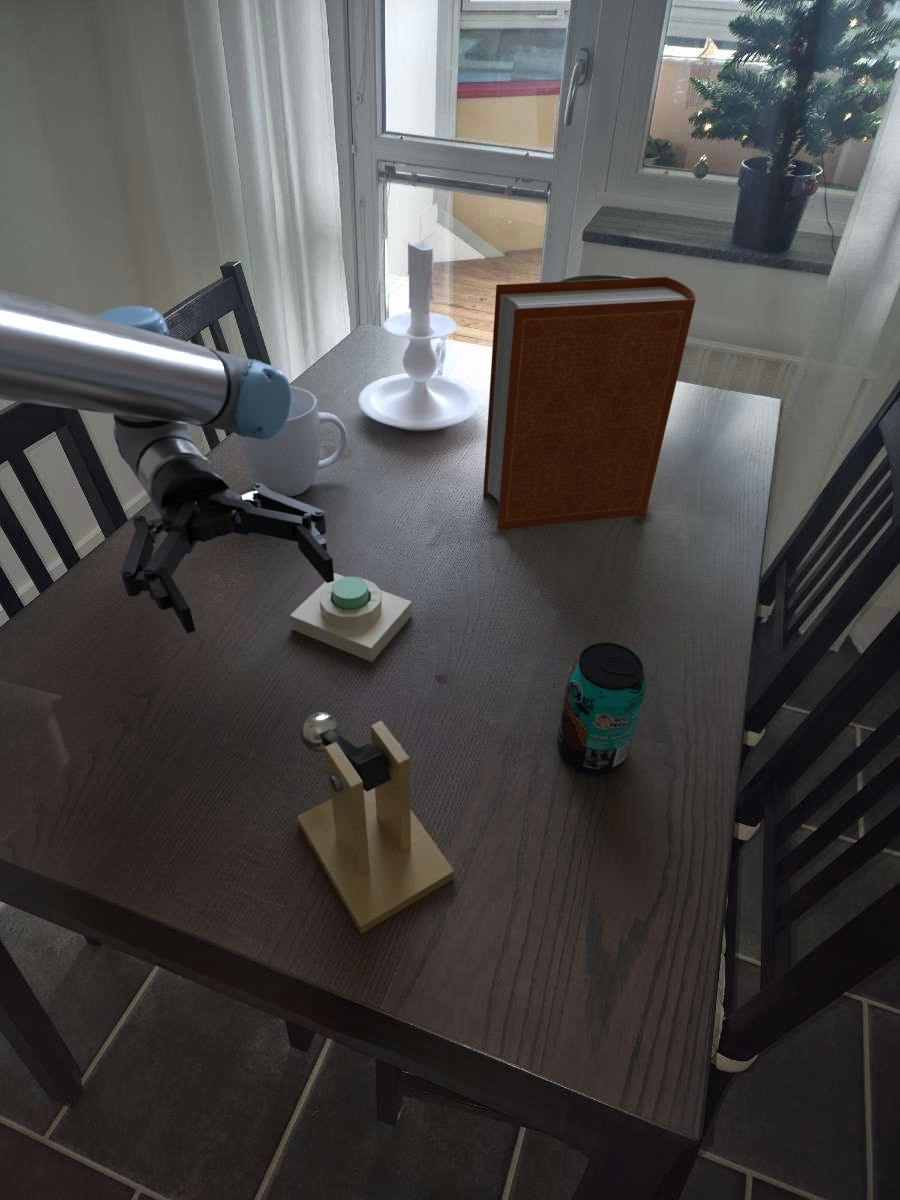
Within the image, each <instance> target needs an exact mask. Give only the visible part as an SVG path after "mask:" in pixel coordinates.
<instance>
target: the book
mask: <svg viewBox="0 0 900 1200" xmlns="http://www.w3.org/2000/svg"><path fill="white" fill-rule="evenodd" d="M696 301H697V298H696V294H695V292H694V291H693V290H692V289H691V287H689V286H688V285H686V284H684V283H682V282H681V281H679V280H676V279H674V278H671V277H668V276H651V277H647V276H646V277H632V278H626V279H605V280H584V281H562V282H559V281H545V282H544V281H543V282H524V283H523V282H522V283H501V284H500V283H499V284H496V285H495V300H494V318H493V331H492V333H493V334H492V349H491V363H490V379H489V383H490V384H489V393H488V394H489V397H488V410H487V411H488V412H487V429H486V443H485V458H484V459H485V460H484V477H483V489H482V491H483V493H482V498H483V499H488V498H489V499H490V498H495V499H496V500H497V502H498V512H497V522H496V523H497V524H496V529H497V530H505V529H506V530H507V529H515V528H517V529H518V528H526V527H536V526H543V525H544V526H545V525H553V524H563V523H572V522H573V523H574V522H581V521H583V522H584V521H591V520H593V521H594V520H601V519H609V518H621V517H630V516H639V515H646V514H647V511H648V507H649V503H650V498H651V494H652V489H653V485H654V481H655V477H656V472H657V467H658V463H659V459H660V454H661V450H662V446H663V443H664V442H663V441H664V438H665V432H666V430H667V426H668V425H667V424H668V420H669V416H670V411H671V407H672V404H673V399H674V394H675V390H676V387H677V386H676V385H677V382H678V377H679V373H680V368H681V365H682V361H683V356H684V353H685V352H684V351H685V347H686V342H687V339H688V336H689V335H688V334H689V331H690V330H689V329H690V326H691V323H692V317H693V313H694V309H695V304H696Z"/></svg>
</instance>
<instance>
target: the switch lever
mask: <svg viewBox="0 0 900 1200" xmlns="http://www.w3.org/2000/svg"><path fill="white" fill-rule="evenodd" d="M299 737H300V739H301V743H302V744H303V745H304V746H305V748H307V749H308V750H309V751H310V752H311V751H312V752H314V753H324V752H325V747H326V746H328V745H330V744H332V743H334V742H337V744H338V745H339V747H340V748H341V750H342V751H343V753H344V754H345V756H346V757H347V759H348V760H349V762H350V763H351V765H352V766H353V768H354V769H355V771H356V772H357V774H358V775H359V776H360V778H361V779H362V781H363V789H364V790H365V791H366V792H368V791H370V790H372V789H374V788H376V787H378V786H380V785H382V784H384V783H386V782H387V781H389V780H391V776H390V772H389V769H388V766H387V763H386V760H385V756H384V753H383V752H382V751H380V750H379V749H377V748H376V747H374V746H373V745H372V743H370V742H368V743H366V744H364V745H362V746H360V747H357V746H356V745H354V744H353V743H351V742H349V741H348V740H347V739H345V738H344V737H343V736H341V726H340V722H339V721H338V719H337V718H336V717H335V716H334V715H332V714H330V713H329V712H327V711H316V712H315V711H314V712H313V713H311V714H309V715H308V716H306V717H305V718H304V720H303V721H302V723H301V725H300V728H299Z"/></svg>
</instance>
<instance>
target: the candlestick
mask: <svg viewBox="0 0 900 1200" xmlns="http://www.w3.org/2000/svg"><path fill="white" fill-rule="evenodd" d="M407 276H408V309H409V310H410V311H407V312H401V313H397V314H394V315H392V316H390V317H388V318H387V319H385V321H384V322H383V328H384V330H385V331H386V332H388V333H389V334H392V335H393V336H396V337H400V338H404V339H409V343H408V346H407V347H406V349H405V351H404V353H403V355H402V366H403V369H404V371H405V373H400V374H393V375H389V376H385V377H382V378H379V379H376V380H375V381H373V382H371V383H369V384H368V385H367V386H365V387H363V389H362V390H361V391H360V393H359V395H358V398H357V402H358V406H359V408H360V410H361V411H362V412H363V413H364V414H365V415H366V416H368V417H369V418H371V419H372V420H374V421H376V422H379V423H381V424H384V425H387V426H389V427H393V428H396V429H401V430H405V431H413V432H428V431H429V432H430V431H437V430H441V429H446V428H449V427H452V426H455V425H458V424H461V423H464V422H466V421H468V420H470V419H472V418H473V417H474V416H475V415H477V413H479V411H480V410H481V408H482V406H483V398H482V396H481V394H480V393H479V391H478V390H477V389H476V388H475V387H474V386H472V385H471V384H469V383H467V382H465V381H463V380H461V379H458V378H455V377H452V376H449V375H444V374H443V372H444V364H445V360H446V354H447V353H446V350H447V347H446V341H447V338H448V336H449V335H452V334H453V333H454V332H455V331H456V330H457V328H458V324H457V323H456V321H455V320H454V319H453V318H451V317H449V316H446V315H444V314H441V313H437V312H431V300H433V299H434V294H433V293H434V291H433V290H434V246H433V245H432V244H430V243H427V242H425V238H423V239H422V242H407ZM434 339H440V340H439V341H438V342H437V344H436V348H434V347H433V345H432V340H434ZM436 370H437V373H435V372H436Z"/></svg>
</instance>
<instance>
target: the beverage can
mask: <svg viewBox="0 0 900 1200" xmlns="http://www.w3.org/2000/svg"><path fill="white" fill-rule="evenodd" d="M566 682H567V683H566V687H565V692H564V698H563V703H562V709H561V714H560V720H559V726H558V732H557V736H556V737H557V738H556V742H557V748H558V750H559V752H560V754H561V755H562V757H563V758H564V759H565V760H566V762H568V763H569V764H570V765H572V766H573V767H575V768H577V769H580V770H581V771H585V772H588V773H596V774H601V773H602V774H603V773H608V772H611V771H614V770H615V769H618V768H619V767H620V766H622V765H623V764H624V763H625V761H626V759H627V757H628V754H629V750H630V747H631V743H632V740H633V737H634V733H635V729H636V726H637V722H638V718H639V716H640V712H641V709H642V705H643V702H644V698H645V694H646V692H647V685H648V684H647V677H646V675H645V673H644V665H643V662H642V660H641V659H640V657H639V656H638V655H637V653H635V652H634V651H633V650H631V649H630V648H628V647H626V646H624V645H621V644H618V643H615V642H614V643H613V642H597V643H593V644H591V645H588V646H586V647H585V648H584V649H583V650H582V651H581V653H580V655H579V656H578V657H577V658H576V659H575V660H574V661H573V662H572V664H571V665H570V668H569V671H568V677H567V681H566Z"/></svg>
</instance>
